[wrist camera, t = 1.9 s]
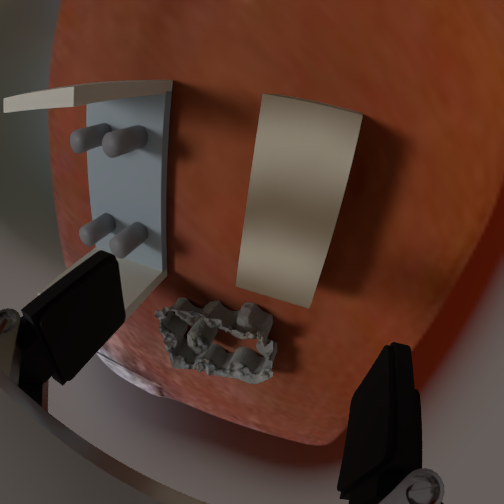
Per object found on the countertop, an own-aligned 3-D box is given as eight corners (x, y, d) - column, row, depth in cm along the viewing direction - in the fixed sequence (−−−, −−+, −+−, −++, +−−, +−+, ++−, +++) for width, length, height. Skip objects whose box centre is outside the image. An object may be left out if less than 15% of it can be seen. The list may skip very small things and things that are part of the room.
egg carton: (276, 300, 25) (263, 334, 21) (281, 361, 28) (270, 394, 25) (166, 289, 28) (143, 315, 25) (184, 345, 31) (167, 372, 28)
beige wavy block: (280, 94, 17) (262, 93, 14) (360, 112, 16) (363, 115, 13) (253, 256, 23) (235, 286, 20) (317, 275, 22) (309, 308, 19)
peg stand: (94, 82, 19) (3, 98, 12) (173, 80, 18) (74, 86, 10) (102, 251, 28) (40, 302, 21) (167, 275, 27) (107, 341, 19)
